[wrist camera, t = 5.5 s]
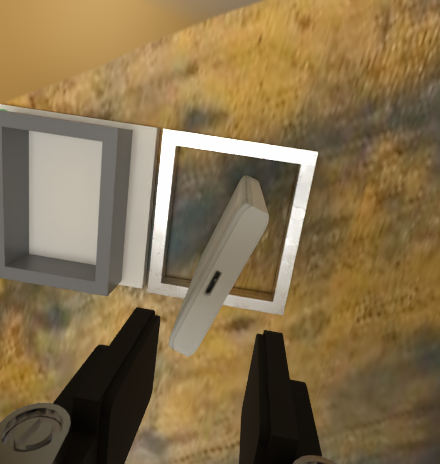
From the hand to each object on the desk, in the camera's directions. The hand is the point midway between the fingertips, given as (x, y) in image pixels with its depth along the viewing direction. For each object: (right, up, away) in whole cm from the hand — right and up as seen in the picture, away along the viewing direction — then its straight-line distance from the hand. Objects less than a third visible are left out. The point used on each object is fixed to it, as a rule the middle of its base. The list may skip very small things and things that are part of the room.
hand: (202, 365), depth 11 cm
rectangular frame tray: (+1, +5, +17) cm, 18 cm away
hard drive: (+1, +5, +18) cm, 18 cm away
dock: (-11, +7, +18) cm, 22 cm away
